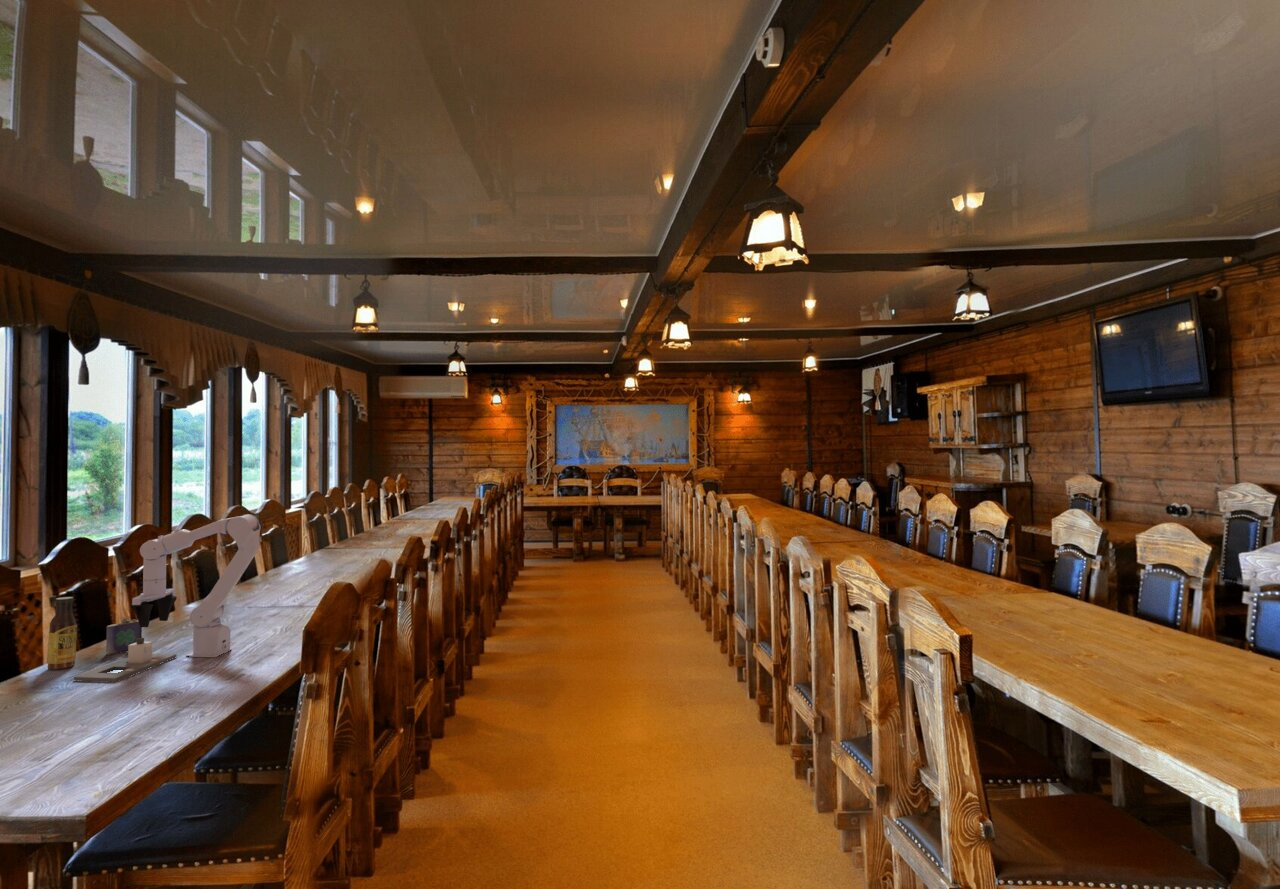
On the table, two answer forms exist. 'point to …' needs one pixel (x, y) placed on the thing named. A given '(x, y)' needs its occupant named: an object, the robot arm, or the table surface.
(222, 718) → the table surface
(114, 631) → the flask
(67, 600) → the sauce bottle
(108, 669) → the panel
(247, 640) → the table surface
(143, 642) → the plug
